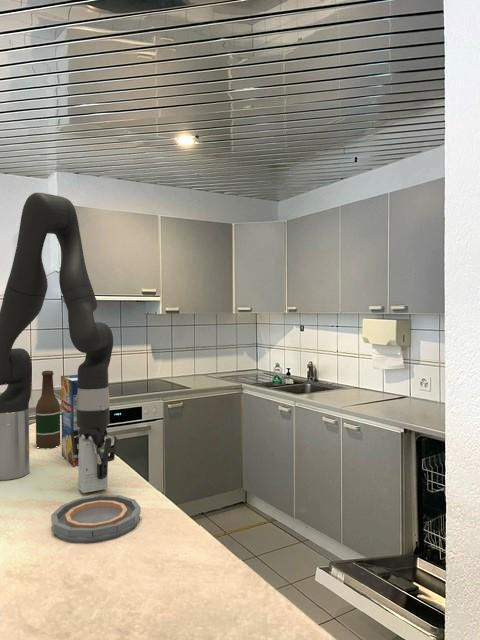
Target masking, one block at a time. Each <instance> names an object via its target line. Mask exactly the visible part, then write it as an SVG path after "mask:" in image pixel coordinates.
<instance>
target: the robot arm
mask: <svg viewBox="0 0 480 640" xmlns="http://www.w3.org/2000/svg"><path fill="white" fill-rule="evenodd" d="M21 212H22V213H21V216H20V222H19V227H18V228H19V230H18V234H17V235H18V236H17V242H16V247H15V253H14V257H13V260H12V261H13V262H12V265H11V268H10V272H9V275H8V279H7V282H6V286H5V288H4V289H5V290H4V294H3V297H2V298H3V299H2V303H1V307H0V386H5V385H6V388H5V390H4V391H3V392H2V393H1V394H0V481H7V480H15V479H18V478H22V477H24V476H27V475H28V474H29V473H30V415H29V414H30V412H29V411H30V410H29V409H30V407H29V406H30V405H29V404H30V403H29V402H30V400H31V396H32V382H33V381H32V380H33V379H32V378H33V377H32V376H33V366H32V364H33V362H32V359H31V355H30V354H29V352H28V351H27V350H26V349H25V348H13V346H14V344H15V342H16V340H17V339H18V337H19V336H20V335H21V334H22V333H23V331H25V329H27V328H28V327H29V326H30V324H31V323H32V322H33V321H34V320H35V319H36V318H37V317H38V315H39V314H40V313H41V311H42V308H43V306H44V301H45V299H46V296H47V292H48V288H49V287H48V283H49V282H48V278H47V274H46V269H45V265H44V263H43V256H42V255H43V249H44V246H45V241H46V238H47V235H48V234H49V235H50V234H52V235H53V234H54V235H55V237H56V239H57V241H58V244H59V246H60V253H61V260H60V261H61V262H60V267H59V274H58V275H59V277H58V281H59V288H60V292H61V296H62V297H63V301H64V303H65V306H66V309H67V318H68V319H67V321H68V332H69V336H70V337H69V338H70V341H71V343H72V345H73V346H74V348H75V349H76V350H77V351H78V352H80V353H83V354H85V358H84V360H83V362H81V364H80V365H78V368H77V375H78V391H77V426H78V427H79V428H80V429H76V430H72V431H71V440H72V448H73V454H74V455H77V456H78V458H79V449H77V444H79V438H81V439H83V440H85V439H89V441H90V443H91V446H92V450H93V453H94V455H96V458H97V461H98V464H97V478H98V479H100V480H101V479H104V478H106V476H107V463H108V464H109V462H112V461H114V460H115V456H116V455H115V454H116V448H117V442H118V441H117V440H118V438H117V436H115V435H114V436H111V435H109V434H108V430H107V428H108V426H109V425H110V392H109V366H110V362H111V359H112V354H113V348H114V336H113V332H112V329H111V328H110V326H109V325H108V324H106V323H105V322H95V321H96V320H95V316H94V311H96V310H97V307H98V301H97V298H96V295H95V292H94V288H93V286H92V282H91V280H90V277H89V274H88V273H89V272H88V270H87V266H86V262H85V256H84V251H83V250H84V249H83V243H82V237H81V231H80V226H79V225H80V224H79V219H78V216H77V211H76V208H75V206H74V203H72V202H71V200H70V199H69V198H67V197H64V196H60V195H56V194H50V193H45V192H34V193H31V194H30V195H29V196H28V197H27V199H26V200H25V202H24V204H23V208H22V211H21ZM103 444H104V446H105V447H104V449H102V450H98V448H101V447H102V446H103ZM101 453H103V458H102V457H101Z"/></svg>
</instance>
